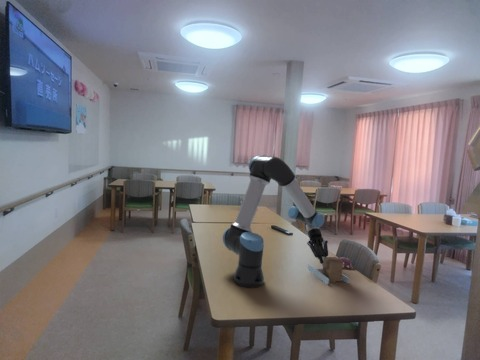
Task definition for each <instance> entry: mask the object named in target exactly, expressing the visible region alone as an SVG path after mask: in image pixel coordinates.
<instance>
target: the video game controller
mask: <svg viewBox="0 0 480 360" xmlns="http://www.w3.org/2000/svg"><path fill="white" fill-rule="evenodd" d="M337 258H338V259H340V260H341V261H343V268H347V267H348V268H349V269H350V270H352V269H353V264H352V260H351V259H350V258H348V257H343V256H340V257H339V256H338V257H337Z"/></svg>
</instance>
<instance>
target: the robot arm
mask: <svg viewBox="0 0 480 360" xmlns="http://www.w3.org/2000/svg"><path fill="white" fill-rule="evenodd" d="M248 170H249V175H248V177H249V179H250V181H249V183H248V186H247V189H246V192H245V195H244V196H243V199H242V202H241V205H240V208H239V210H238V214H237V216H236V218H235V221H234V222H231V224H230V227H227V229H225V230H224V232H223V235H222V243H223V245H224V247H225V248H226V249H227V250H229V251H231V252H233V253H234V254H236V255H237V256H238V262H237V263H238V264H237V267H236V269H235V272H234V274H233V282H234V283H235V284H236V285H238V286H240V287H245V288H251V289H252V288H258V287H261V286H263V284H264V282H265V276H264V272H263V269H262V268H263V267H262V264H263V257H264V255H263V253H264V246H265V245H264V242H265V241H264V238H263V236H261V235H260V234H259V233H255V232H253V230H252V227H251V226H252V224H253V222H254V221H253V220H254V218H255V216H256V213H257V210H258V207H259V204H260V202H261V199H262V197H263V193H264V191H265V188H266V187H267V185H270V183H271V180H273V181H275V182H276V183H277V184H278V186H279V187H281V188H282V189H284V191H285V192H286V194H287V195H288V197H289V198H290V199H291V201H292V202H293V203H294V205H295V206H294V205H292V206H290V208H289V209H288V212H287V215H288V218H290V219H291V220H296V221H298V222H302V223H304V226H305V228H306V229H305V230H306V231H307V235H308V238H309V240H308V241H307V242H306V245H308V247H309V249H310V250H311V252H312V254H313V256H314V257H315V258H317V260H319V263H320V265H322V267H323V264H324V257H329V250H328V243H329V241H328V240H325V239H324V238H323V235H322V232H321V229H320V228H321V227H322V226H323V225H324V223H325V216H324V214H322V213H320V212H317V210H316V209H315V207H314V205H313V204H312V202H311V201H310V199H309V198H308V197H307V195H306V193H305V192H304V191H303V189H302V188H301V186H300V184H299V182H298V181H297V180H296V175H295V173H294V172H293V170H292V169H291V168H290V166H289V165H288V164H287V163H286V162H285V161H284V160H283V159H281V158H279V157H277V156H269V155H256V156H255V157H254V156H253V158H251V160H250V161H249V163H248Z"/></svg>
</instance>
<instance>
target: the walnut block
mask: <svg viewBox="0 0 480 360" xmlns="http://www.w3.org/2000/svg"><path fill="white" fill-rule="evenodd" d="M338 258H339V257H336V256H327V257H324V264H323V266H322V269H323V273H322V274H323V275H324V276H326V277H327V278H328V279H329V282H331V283H336V282H335V281H341V282H342V280H341V277H342V274H343V268H344V266H343V264H344V262H343V261H341V260H340V259H338Z"/></svg>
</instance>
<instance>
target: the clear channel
mask: <svg viewBox="0 0 480 360" xmlns="http://www.w3.org/2000/svg"><path fill="white" fill-rule="evenodd" d="M307 270H308V271H309V272H310V273H312V274H313V275H314V276H316V277H317V278H318V279H319V280H320V281H322V282H323V283H324V282H325V283H326V285H327V284H329V285H330V283H329V279H328V278H327V277H326V276H324V275H323V274H322V273H323V268H315V267H314V266H313V265H312V264H310V263H308V266H307ZM341 279H342V280H341V281H343V280H344V281H345V282H347V283H348V284H349V282H350V278H349V277H348V276H347V275H345V274H343V273H342V277H341ZM344 281H343V282H344ZM345 282H344V283H345ZM325 283H324V284H325ZM347 283H346V284H347Z"/></svg>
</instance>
